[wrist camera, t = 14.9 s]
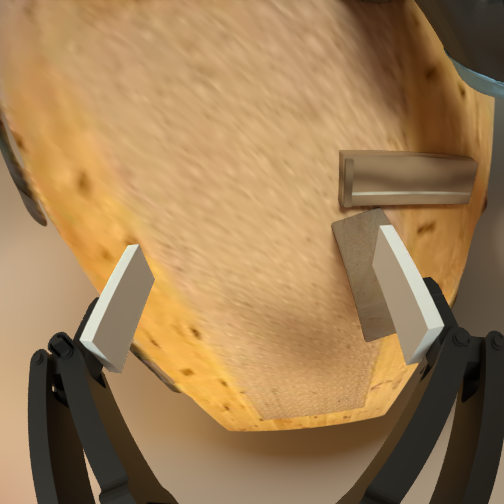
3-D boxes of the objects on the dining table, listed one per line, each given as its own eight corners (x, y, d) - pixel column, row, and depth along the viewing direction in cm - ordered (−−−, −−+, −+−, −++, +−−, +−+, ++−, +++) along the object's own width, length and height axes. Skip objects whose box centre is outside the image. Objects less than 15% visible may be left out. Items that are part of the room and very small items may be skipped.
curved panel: (339, 150, 40) (345, 157, 38) (470, 157, 37) (481, 164, 35) (338, 199, 46) (342, 209, 43) (462, 197, 43) (471, 206, 40)
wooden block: (387, 245, 52) (423, 324, 36) (342, 260, 55) (365, 344, 39) (380, 205, 46) (425, 283, 30) (330, 222, 49) (356, 307, 33)
